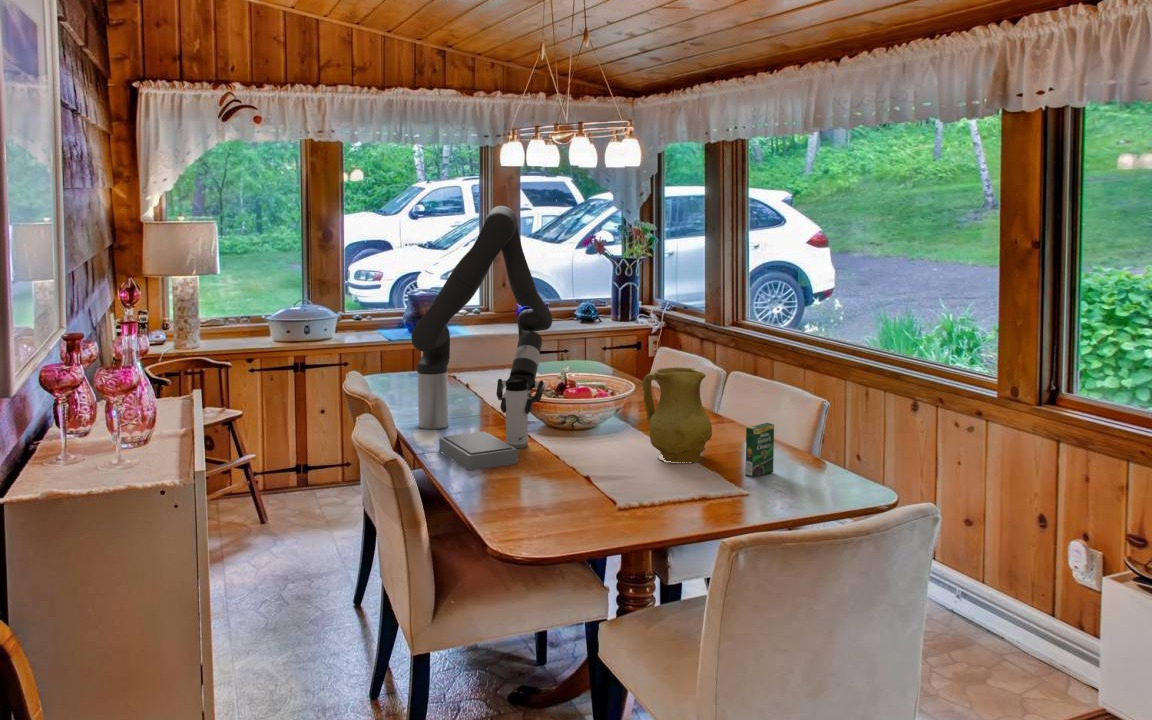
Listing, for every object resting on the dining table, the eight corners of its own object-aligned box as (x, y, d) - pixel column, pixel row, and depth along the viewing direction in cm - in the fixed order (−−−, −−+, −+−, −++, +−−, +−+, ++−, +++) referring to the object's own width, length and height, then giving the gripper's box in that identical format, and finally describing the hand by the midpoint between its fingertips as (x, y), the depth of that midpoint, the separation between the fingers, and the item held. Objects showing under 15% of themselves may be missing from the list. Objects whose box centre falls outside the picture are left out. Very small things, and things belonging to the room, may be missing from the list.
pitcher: (671, 468, 260) (672, 374, 257) (634, 455, 277) (635, 366, 274) (724, 462, 268) (725, 370, 265) (685, 449, 284) (687, 363, 282)
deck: (439, 451, 279) (439, 436, 278) (485, 445, 285) (484, 430, 285) (469, 470, 260) (468, 454, 259) (517, 463, 266) (517, 447, 266)
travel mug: (525, 449, 281) (525, 380, 278) (503, 447, 282) (502, 379, 279) (531, 443, 287) (530, 376, 284) (509, 442, 288) (508, 375, 285)
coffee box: (752, 478, 253) (753, 428, 251) (744, 475, 255) (745, 426, 253) (773, 473, 258) (775, 424, 255) (765, 470, 260) (767, 422, 258)
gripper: (499, 355, 289) (488, 403, 280) (547, 357, 286) (537, 406, 277) (504, 370, 295) (493, 417, 286) (551, 372, 292) (541, 420, 283)
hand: (515, 411), depth 281 cm, fingers closed on travel mug, 6 cm apart
